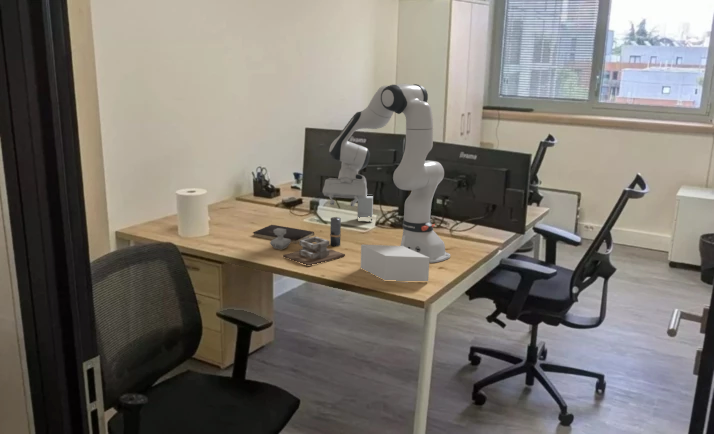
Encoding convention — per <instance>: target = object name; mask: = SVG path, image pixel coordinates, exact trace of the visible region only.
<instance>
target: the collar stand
mask: <svg viewBox="0 0 714 434" xmlns="http://www.w3.org/2000/svg"><path fill="white" fill-rule="evenodd" d="M298 244H299V246H301V249H299V250H297V251H292V252H289V253H286V254H282V255H283V256H282V257H283V258H284V257H285V258H284V259H286V258H289V259H291V260H290V261H292V260H294V261H297V262H300V263H303V264H306V265H312V264H317V263H321V262H324V263H326V262H325V261H328V262H330V261H329V260H331V261H333V260H332V259H334V260H337V259H336V258H338V259H341V258H345V257H346V253H343V252H339V251H338V250H337V251H336V250H334V249H331V248H328V247H329V246H330V240H328V239H324V238H321V237H319V236H315V235H314V236H310V237H305V238H302V240H299V242H298ZM344 256H345V257H344ZM340 257H341V258H340ZM289 259H288V260H289ZM294 261H293V262H294ZM297 262H296V263H297ZM300 263H299V264H300ZM321 264H322V263H321ZM317 265H318V264H317Z"/></svg>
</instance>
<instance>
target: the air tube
mask: <svg viewBox="0 0 714 434" xmlns="http://www.w3.org/2000/svg"><path fill="white" fill-rule="evenodd" d="M341 221H342V218H341V217H337V216H335V217H331V218H330V233H329V237H330V239H329V246H330V247H340V246H341V236H342V235H341V226H342V225H341V223H342V222H341Z"/></svg>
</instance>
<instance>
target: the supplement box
mask: <svg viewBox="0 0 714 434" xmlns="http://www.w3.org/2000/svg"><path fill="white" fill-rule="evenodd" d="M373 207H374V195H373V196H367V197H366V198H365V199H358V201H357V218H358V217H359V218H360V217H368V216H370V217H372V215H373V212H374V208H373Z"/></svg>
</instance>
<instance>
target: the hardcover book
mask: <svg viewBox="0 0 714 434" xmlns="http://www.w3.org/2000/svg"><path fill="white" fill-rule="evenodd" d="M277 228H281V229H286V234H285V235H284V236H283V238H287V239H290V240H291V243H290V244H299V240H302V238H305V237H310V238H311V237H314V236H315V231H311V230H306V229H301V228H300V229H299V228H295V227H288V226H283V225H276V224H270V225H268V226H265V227H262V228H260V229H258V230H255V231H253V232H252V234H253V236H254V237H258V238H263V239H269V240H273V239H275V238H278V236H277V235H275V233H274V231H273V230H275V229H277Z"/></svg>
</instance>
